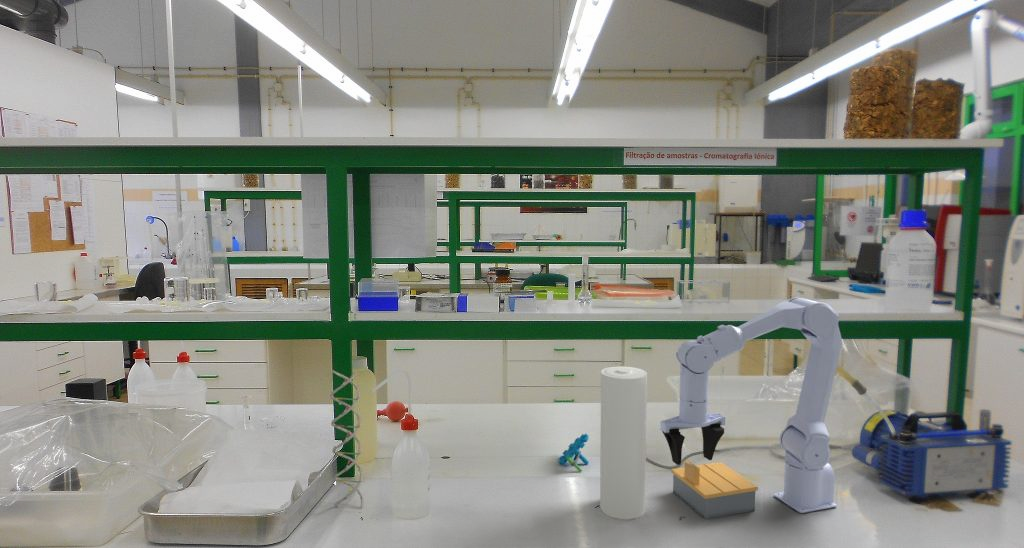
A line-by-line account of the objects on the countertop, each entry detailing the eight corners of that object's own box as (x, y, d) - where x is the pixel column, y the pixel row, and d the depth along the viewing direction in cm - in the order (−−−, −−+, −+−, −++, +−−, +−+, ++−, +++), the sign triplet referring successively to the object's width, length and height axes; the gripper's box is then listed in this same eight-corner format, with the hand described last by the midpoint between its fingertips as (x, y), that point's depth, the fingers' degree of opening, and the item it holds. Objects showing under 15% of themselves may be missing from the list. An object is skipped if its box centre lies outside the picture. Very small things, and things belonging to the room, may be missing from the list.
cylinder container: (633, 494, 127) (635, 362, 124) (652, 516, 118) (655, 374, 115) (593, 499, 125) (594, 365, 122) (610, 521, 116) (611, 377, 113)
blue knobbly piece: (562, 446, 149) (588, 425, 145) (578, 463, 149) (605, 442, 145) (550, 469, 139) (578, 447, 135) (568, 487, 139) (596, 465, 135)
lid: (719, 468, 131) (720, 447, 131) (757, 493, 119) (758, 470, 118) (671, 475, 128) (671, 453, 127) (705, 502, 116) (705, 478, 115)
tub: (719, 484, 131) (719, 466, 131) (754, 510, 120) (755, 490, 119) (673, 492, 128) (673, 472, 127) (704, 519, 116) (705, 498, 116)
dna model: (370, 501, 125) (365, 367, 122) (356, 516, 119) (351, 375, 115) (342, 498, 126) (336, 366, 123) (327, 513, 120) (321, 374, 117)
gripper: (711, 389, 126) (710, 449, 127) (653, 396, 122) (652, 457, 123) (732, 399, 119) (730, 461, 120) (671, 406, 115) (670, 471, 116)
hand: (692, 460), depth 121 cm, fingers open, 7 cm apart
